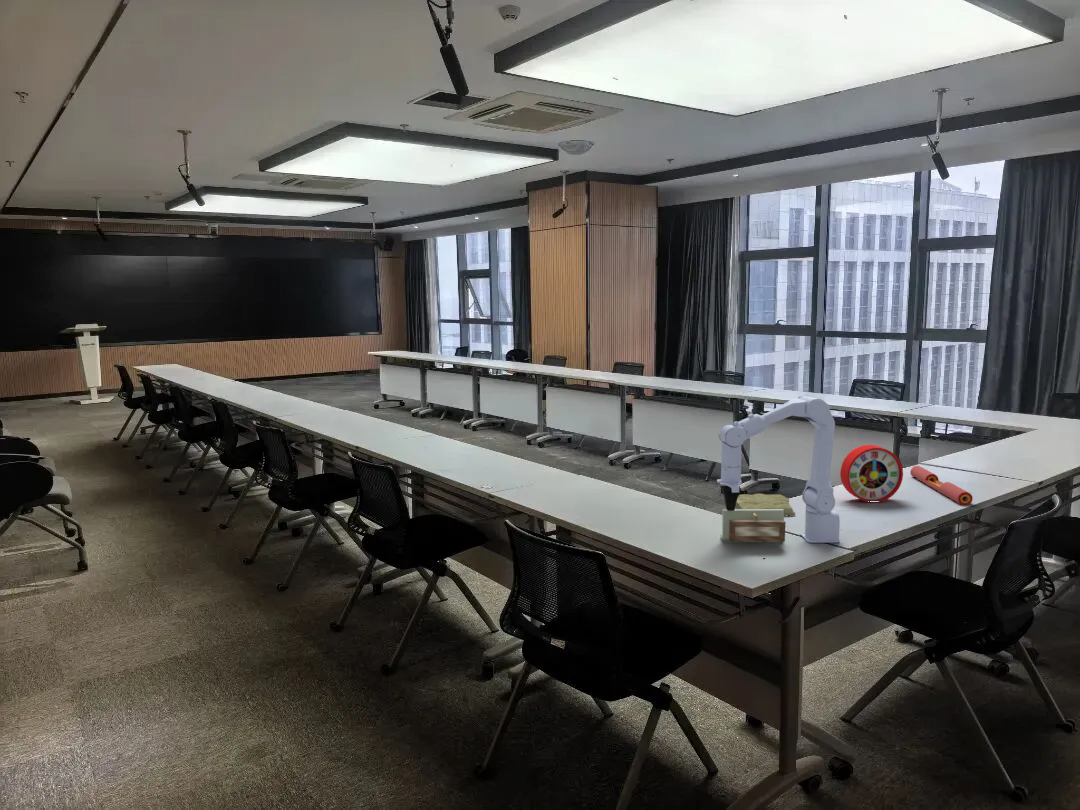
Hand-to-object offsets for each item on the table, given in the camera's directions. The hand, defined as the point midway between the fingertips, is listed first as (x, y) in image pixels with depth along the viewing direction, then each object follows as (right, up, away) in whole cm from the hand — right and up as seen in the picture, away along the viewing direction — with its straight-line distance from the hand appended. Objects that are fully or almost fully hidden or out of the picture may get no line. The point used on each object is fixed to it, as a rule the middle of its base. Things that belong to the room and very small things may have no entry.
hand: (730, 510), depth 221 cm
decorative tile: (+22, -6, +38) cm, 44 cm away
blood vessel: (+93, -1, +57) cm, 109 cm away
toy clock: (+62, -3, +44) cm, 76 cm away
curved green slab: (+7, -10, +3) cm, 13 cm away
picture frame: (+7, -9, -3) cm, 11 cm away
